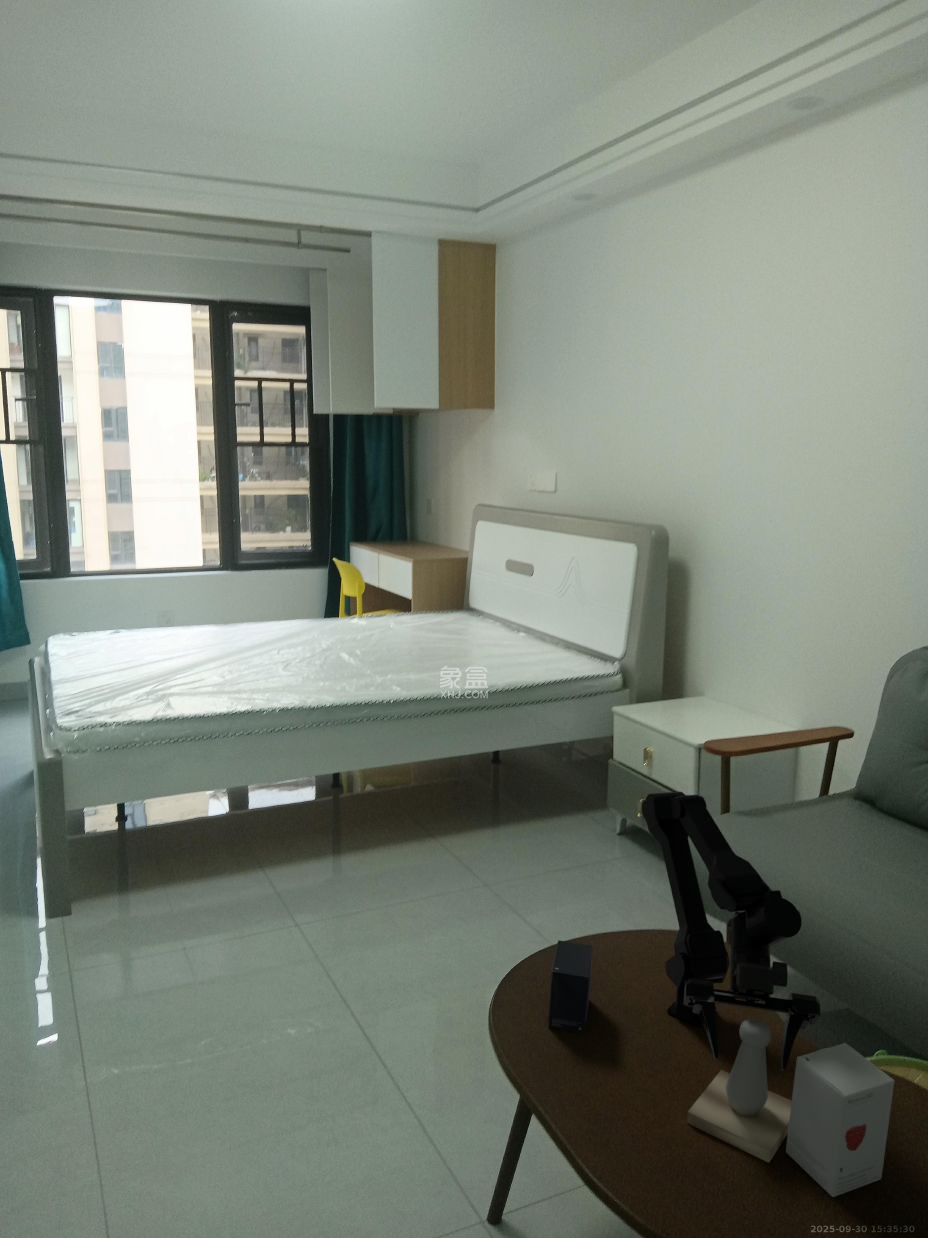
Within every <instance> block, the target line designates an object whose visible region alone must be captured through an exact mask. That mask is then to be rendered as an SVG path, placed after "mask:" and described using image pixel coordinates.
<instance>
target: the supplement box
mask: <svg viewBox="0 0 928 1238" xmlns="http://www.w3.org/2000/svg"><path fill="white" fill-rule="evenodd" d="M894 1087H895V1079H893V1078H892V1077H891V1076H890V1075H888V1074H887V1073H885V1072H884V1071H883V1070H882V1069H880V1068H878V1067H877V1066H876V1065H875V1064H873V1063H872V1062H871V1061H869V1060H868V1059H867V1058H866V1057H864V1056H863V1055H862V1054H861V1053H859V1052H858V1051H857V1050H855V1049H854V1047H851V1046H850V1045H849V1044H847V1043H846V1042H844V1043H841V1044H837V1045H834V1046H830V1047H825V1048H820V1049H817V1050H815V1051H813V1052H810V1053H806V1054H802V1055H800V1056H796V1062H795V1070H794V1080H793V1087H792V1088H793V1089H792V1096H791V1101H792V1103H791V1111H790V1120H789V1128H788V1134H787V1136H786V1137H787V1138H786V1144H785V1145H786V1146H785V1153H786V1154H787V1155H788V1156H789V1157H790V1158H791V1159H792V1160H793V1161H794V1162H796V1164H798V1165H799V1166H800V1167H801V1168H802V1169H803V1170H804V1171H805V1172H806V1174H808V1176H810V1177H811V1178H812V1179H813V1180H814V1181H815V1182H816V1183H817V1184H818V1185H819V1186H820V1187H821V1188H822V1189H824V1190H825V1192H826V1193H828V1195H829V1196H831V1197H832V1198H835V1197H838V1196H840V1195H844V1194H845V1193H849V1192H851V1191H854V1190H856V1189H859V1188H862V1187H864V1186H867V1185H870V1184H871V1183H874V1182H878V1181H880V1180H882V1178H883V1169H884V1160H885V1156H886V1155H885V1154H886V1146H887V1145H886V1144H887V1140H888V1139H887V1138H888V1132H889V1131H888V1130H889V1123H890V1116H891V1109H892V1101H893V1093H894Z"/></svg>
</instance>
